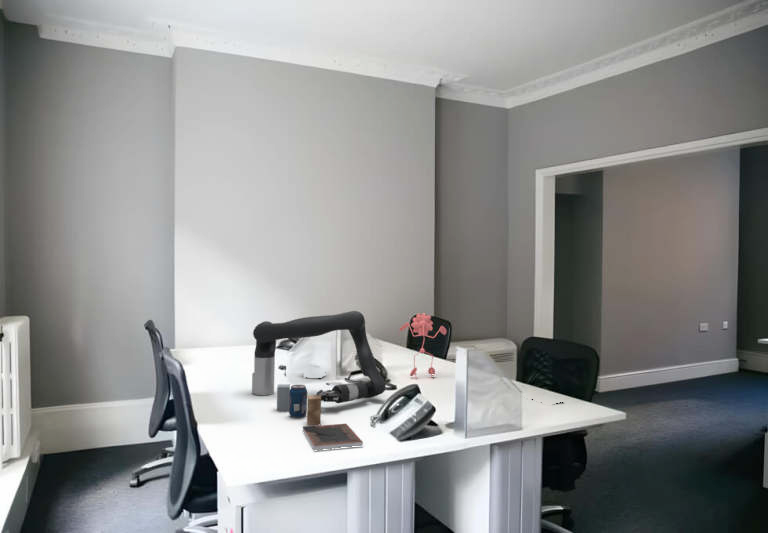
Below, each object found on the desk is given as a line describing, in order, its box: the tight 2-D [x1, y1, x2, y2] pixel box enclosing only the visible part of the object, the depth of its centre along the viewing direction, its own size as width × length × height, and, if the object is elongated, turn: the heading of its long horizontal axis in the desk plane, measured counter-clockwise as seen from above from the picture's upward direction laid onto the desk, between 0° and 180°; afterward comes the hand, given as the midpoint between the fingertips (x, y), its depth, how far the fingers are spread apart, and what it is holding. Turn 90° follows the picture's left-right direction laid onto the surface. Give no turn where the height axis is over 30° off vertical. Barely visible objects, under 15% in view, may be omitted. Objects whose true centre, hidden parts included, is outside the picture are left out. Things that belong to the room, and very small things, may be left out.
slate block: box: [276, 383, 291, 412], centre depth 225 cm, size 5×5×10 cm
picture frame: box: [302, 423, 364, 451], centre depth 190 cm, size 16×2×22 cm
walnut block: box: [306, 394, 322, 426], centre depth 208 cm, size 5×5×10 cm
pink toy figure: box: [398, 312, 447, 378], centre depth 296 cm, size 15×26×35 cm, turn 102°
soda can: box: [288, 384, 308, 419], centre depth 216 cm, size 7×7×12 cm
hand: (311, 398), depth 220 cm, fingers closed
